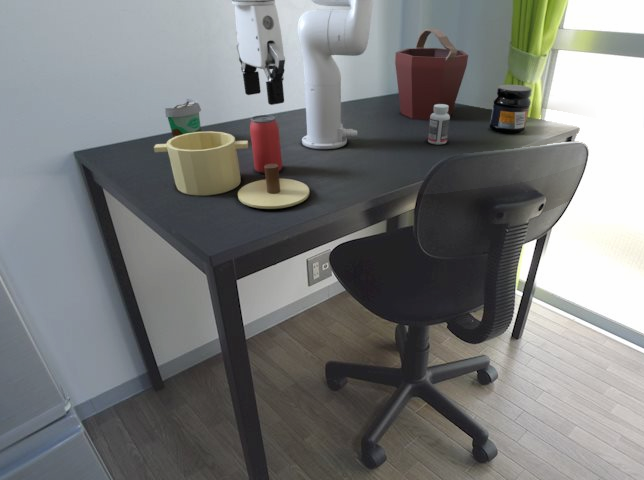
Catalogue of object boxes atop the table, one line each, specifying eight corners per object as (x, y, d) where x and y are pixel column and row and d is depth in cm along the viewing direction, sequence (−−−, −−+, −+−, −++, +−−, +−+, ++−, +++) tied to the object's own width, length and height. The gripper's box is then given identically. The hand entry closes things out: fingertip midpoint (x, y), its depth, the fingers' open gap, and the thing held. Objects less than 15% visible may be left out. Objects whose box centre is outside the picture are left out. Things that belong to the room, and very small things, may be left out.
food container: (193, 149, 121) (185, 109, 115) (172, 147, 122) (164, 108, 116) (213, 136, 131) (207, 99, 125) (194, 134, 132) (187, 98, 126)
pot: (170, 174, 105) (160, 133, 100) (253, 170, 108) (248, 129, 102) (158, 198, 94) (146, 153, 89) (252, 192, 97) (246, 148, 91)
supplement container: (522, 136, 132) (532, 92, 125) (486, 132, 135) (494, 89, 128) (525, 127, 140) (534, 85, 133) (491, 124, 143) (498, 83, 136)
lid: (240, 185, 100) (235, 155, 96) (306, 181, 102) (305, 152, 98) (236, 213, 88) (231, 181, 84) (312, 209, 90) (310, 177, 86)
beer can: (270, 176, 105) (264, 123, 97) (249, 171, 107) (242, 119, 100) (288, 168, 109) (283, 117, 102) (267, 163, 112) (261, 113, 105)
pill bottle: (444, 139, 129) (449, 103, 124) (448, 145, 125) (453, 107, 119) (426, 139, 129) (429, 103, 123) (429, 145, 125) (433, 108, 119)
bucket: (463, 123, 143) (476, 33, 128) (394, 123, 143) (400, 32, 128) (450, 105, 163) (461, 25, 148) (390, 105, 163) (394, 25, 148)
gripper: (296, -4, 75) (303, 104, 85) (250, -9, 86) (261, 88, 96) (256, -3, 71) (268, 110, 81) (212, -7, 82) (228, 93, 92)
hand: (264, 98), depth 89 cm, fingers open, 9 cm apart
